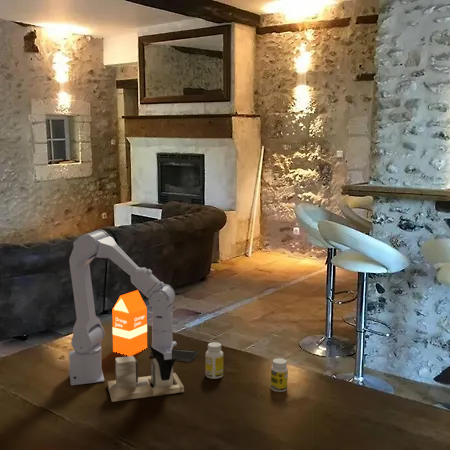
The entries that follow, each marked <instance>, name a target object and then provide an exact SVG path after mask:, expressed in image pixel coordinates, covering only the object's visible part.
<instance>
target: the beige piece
mask: <svg viewBox="0 0 450 450" xmlns="http://www.w3.org/2000/svg"><path fill="white" fill-rule="evenodd" d="M138 365H139V363H138V360H137V357H134V355H132V356H121V357H120V356H119V357H115V380H107V389H108V393H109V395H110V396H109V397H110V399H111V402H121V401H127V400H128V401H129V400H135V399H142V398H149V397H156V396H158V397H159V396H165V395H171V394H177V393H184V392H185V387H184V385H183V383H182V381H181V379H180V378H179V376H178V374H177V373H176V372H173V385H170V386H163V387H155V388H154V387H152V386H151V384H152V382H151V375H147V376H138V375H139V370H138V367H139V366H138ZM152 385H153V384H152Z"/></svg>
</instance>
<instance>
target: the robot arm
mask: <svg viewBox="0 0 450 450" xmlns="http://www.w3.org/2000/svg"><path fill="white" fill-rule="evenodd" d="M72 245H73V248H72V251H71V254H70V256H69V259H68V260H69V268H70V277H71V285H72V293H73V299H74V300H73V301H74V308H75V315H76V319H75V320H76V321H75V322H74V325H73V328H72V338H71V346H72V349H73V350H70V351H69V352H68V359H69V360H68V362H69V363H68V364H69V367H68V377H69V380H70V386H78V385H86V384H95V383H101V382H102V383H104V382H105V377H104V373H103V369H102V365H103V364H102V342H103V340H104V339H105V336H106V335H105V334H106V333H105V329H104V327H103V326H102V323H101V319H100V317H98V316H97V315H96V309H95V307H96V306H95V300H94V292H93V291H94V290H93V283H92V275H91V267H90V263H91V262H93V260H94V259H95V258H99V259H100V258H103V259H109V260H111V262H113V263H114V264H115V265H117V266H118V267H119V268H120V269H121V270H123V272H125V273H126V274H128V276H130V283H131V284H132V285H133V286H134V287H135V288H137V290H138V291H140V292H141V293H142V294H143V295H144V296H145V297H146V298H147V299H148V303H149V306H150V308H151V310H152V311H151V312H152V313H151V314H152V315H151V318H152V321H151V324H152V325H151V329H152V331H151V333H152V338H151V340H152V342H151V344H149V346H148V347H149V349H150V351H151V352H152V354H153V357H154V358H153V359H155V358H156V360H157V362H158V365H159V369H160V375H161V379H162V381H164V380H169V379H170V375H171V370H172V367H173V368H174V365H175V362H176V361H177V360H176V356H172V352H171V351H172V349H174V347H176V346H177V341H175V340H173V338H174V336H173V333H174V332H173V323H174V322H173V318H174V317H173V313H174V312H173V303H174V300H175V298H176V292H175V290H174V288H173V287H172V286H171V285H169V284H167V283H166V284H165V283H164V282H163V281H160V280H159V278H157V277H156V276H155V275H154V274H153V270H152V269H150V268H147V267H139V266H138V265H137V264H136V262H134V260H133V259H132V258H130V256H128V255H127V253H126V252H125V251H124V250H123V249H122V248H121V247H120V245H118V244H117V242H116V241H115V239H114V238H113V237H112V236H110V235H109V233H108V232H106V231H105V230H103V229H97V230H94V231H91V232H89V233H85V234H81V235H80V236H78V238H77V239H75V240H74V241H73V243H72Z"/></svg>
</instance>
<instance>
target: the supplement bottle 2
mask: <svg viewBox="0 0 450 450" xmlns="http://www.w3.org/2000/svg"><path fill="white" fill-rule="evenodd" d="M287 366H288V363H287V359H285V358H282V357H281V358H280V357H278V358H274V359H273V360H272V366H271V367H270V389H271V391H273V392H278V393H281V392H286V391H287V390H288V379H289V377H288V376H289V369H288V367H287Z"/></svg>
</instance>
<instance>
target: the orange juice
mask: <svg viewBox="0 0 450 450" xmlns="http://www.w3.org/2000/svg"><path fill="white" fill-rule="evenodd" d="M139 291H140V290H139V289H136V290H133V291H129V292H127V293H125V294H121V295H119V298H118V299H117V301H116V303H115V304H114V307H112V312H111V313H112V352H113V353H116V352H117V354H119V353H120V354H121V355H123V354H124V355H123V356H126V355H127V356H134V355H136V354H138V353H141V352H143V351H144V349H145V350H146V348H147V349H148V307H147V305H146V303H145V301H144V300H143V298H142V295H141V293H140V292H139ZM142 350H143V351H142ZM127 356H126V357H127Z"/></svg>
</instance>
